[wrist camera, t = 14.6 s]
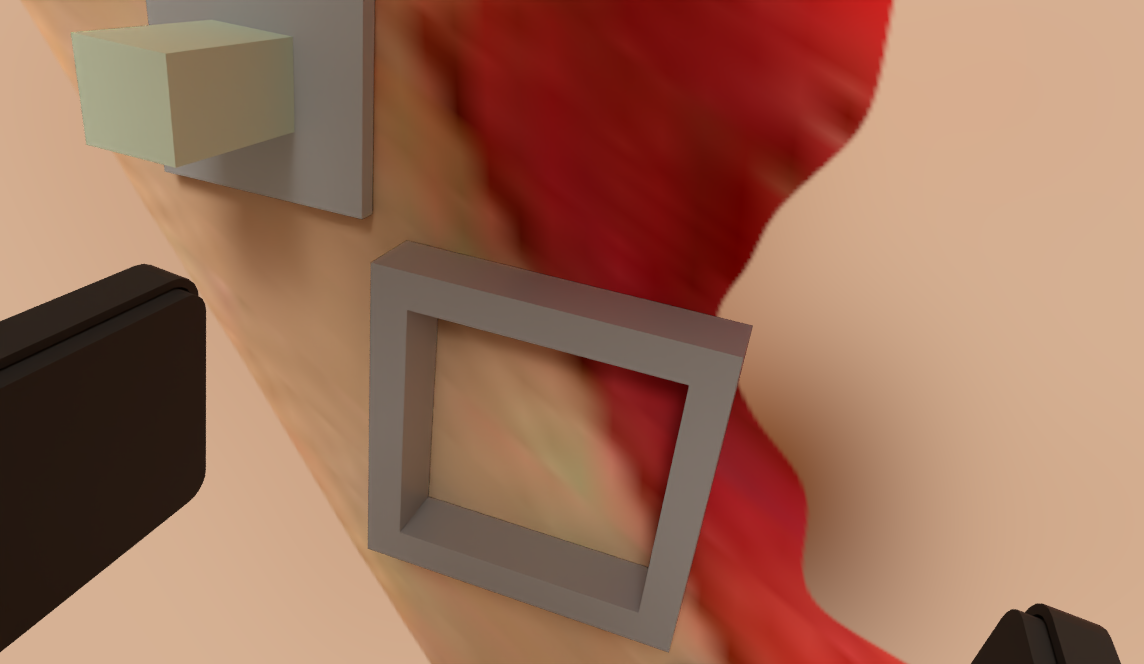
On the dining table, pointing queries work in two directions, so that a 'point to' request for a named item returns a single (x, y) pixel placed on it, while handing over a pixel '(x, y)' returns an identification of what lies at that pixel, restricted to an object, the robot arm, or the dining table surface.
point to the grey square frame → (569, 324)
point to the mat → (302, 103)
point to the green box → (183, 89)
